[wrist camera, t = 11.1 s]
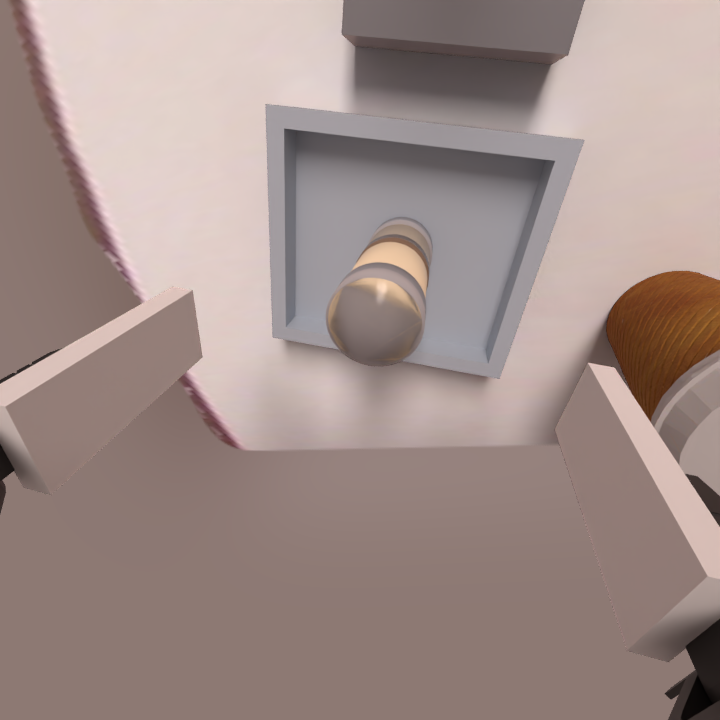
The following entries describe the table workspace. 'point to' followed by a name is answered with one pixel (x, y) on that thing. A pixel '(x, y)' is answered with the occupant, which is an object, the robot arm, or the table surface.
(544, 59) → the grey slotted block
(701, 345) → the disposable coffee cup
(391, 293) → the fuse
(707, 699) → the robot arm
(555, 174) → the parts tray
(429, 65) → the table surface
